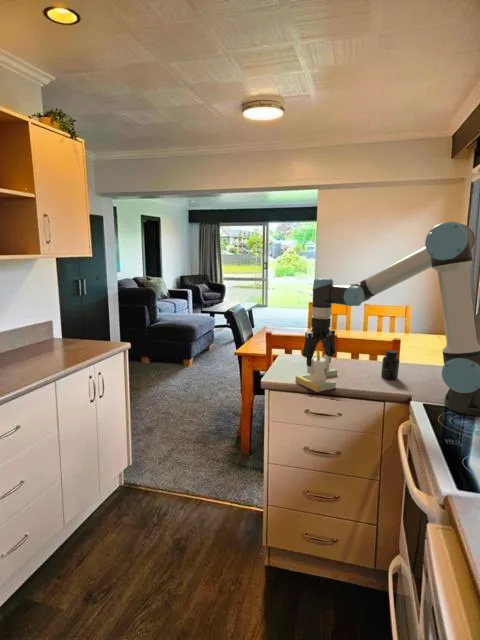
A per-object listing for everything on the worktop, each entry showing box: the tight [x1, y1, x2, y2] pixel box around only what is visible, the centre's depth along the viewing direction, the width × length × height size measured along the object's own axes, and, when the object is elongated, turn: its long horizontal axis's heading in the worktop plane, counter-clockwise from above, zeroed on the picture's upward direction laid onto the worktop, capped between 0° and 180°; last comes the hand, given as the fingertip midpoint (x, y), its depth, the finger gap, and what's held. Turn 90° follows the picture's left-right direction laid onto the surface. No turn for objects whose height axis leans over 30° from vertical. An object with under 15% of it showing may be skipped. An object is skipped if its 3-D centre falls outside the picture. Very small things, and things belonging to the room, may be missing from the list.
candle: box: [310, 348, 327, 384], centre depth 165 cm, size 6×6×15 cm
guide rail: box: [295, 368, 338, 393], centre depth 168 cm, size 14×22×2 cm, turn 120°
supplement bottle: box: [380, 349, 400, 381], centre depth 175 cm, size 7×7×12 cm
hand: (318, 372), depth 165 cm, fingers open, 8 cm apart
